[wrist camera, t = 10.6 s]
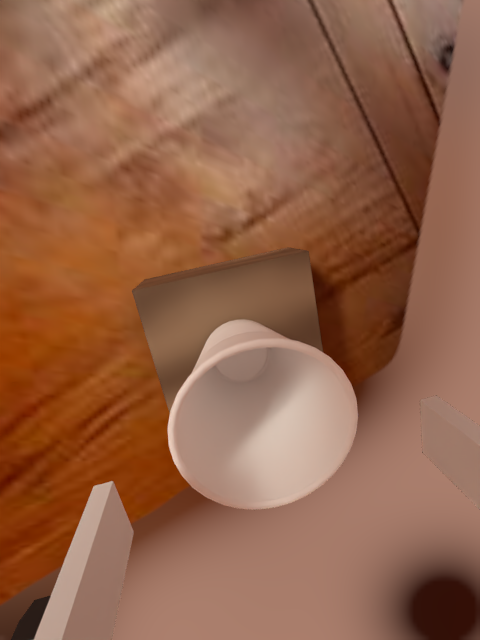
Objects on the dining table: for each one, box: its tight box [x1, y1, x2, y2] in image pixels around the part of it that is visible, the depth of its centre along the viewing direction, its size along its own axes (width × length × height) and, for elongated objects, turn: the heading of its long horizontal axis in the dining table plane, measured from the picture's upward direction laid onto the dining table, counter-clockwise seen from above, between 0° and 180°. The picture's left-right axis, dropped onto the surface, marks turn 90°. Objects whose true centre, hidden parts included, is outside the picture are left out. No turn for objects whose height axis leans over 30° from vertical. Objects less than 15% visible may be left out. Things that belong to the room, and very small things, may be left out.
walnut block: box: [132, 248, 323, 412], centre depth 30 cm, size 14×14×6 cm
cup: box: [168, 319, 358, 509], centre depth 22 cm, size 10×10×11 cm
